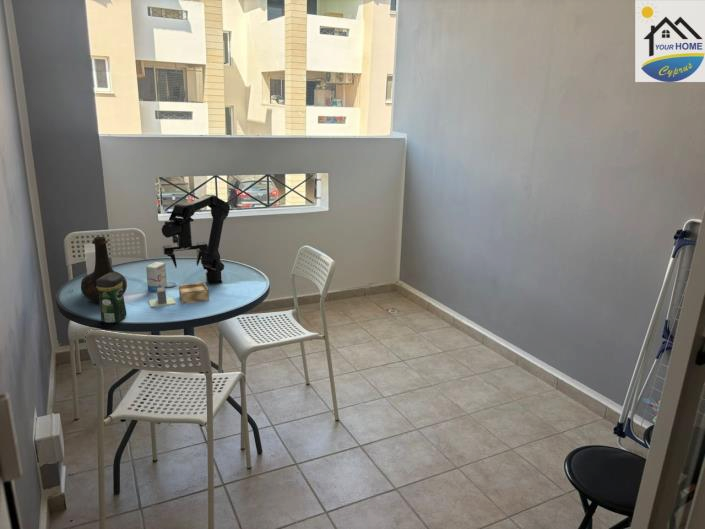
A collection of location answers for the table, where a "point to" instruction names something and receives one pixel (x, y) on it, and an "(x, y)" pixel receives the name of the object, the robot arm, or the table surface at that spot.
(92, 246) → the milk
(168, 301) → the cover plate
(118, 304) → the coffee jar
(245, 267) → the table surface
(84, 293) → the glass bottle
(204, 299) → the oak box
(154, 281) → the ink box
